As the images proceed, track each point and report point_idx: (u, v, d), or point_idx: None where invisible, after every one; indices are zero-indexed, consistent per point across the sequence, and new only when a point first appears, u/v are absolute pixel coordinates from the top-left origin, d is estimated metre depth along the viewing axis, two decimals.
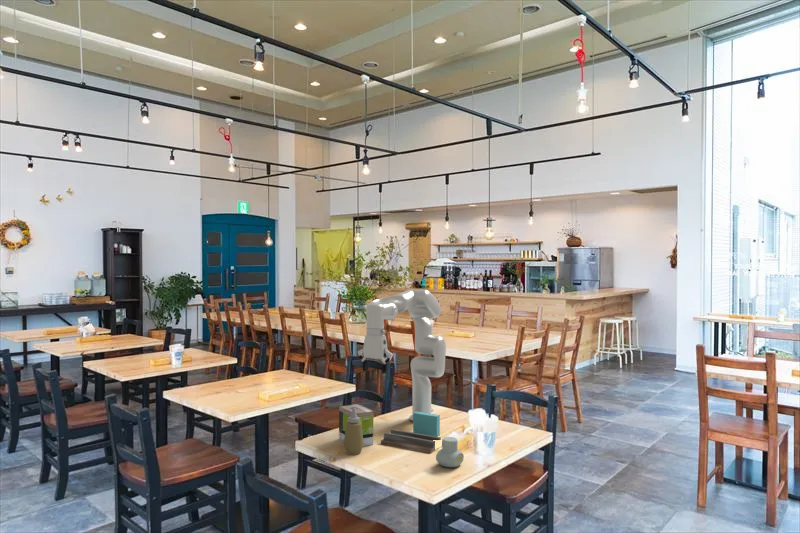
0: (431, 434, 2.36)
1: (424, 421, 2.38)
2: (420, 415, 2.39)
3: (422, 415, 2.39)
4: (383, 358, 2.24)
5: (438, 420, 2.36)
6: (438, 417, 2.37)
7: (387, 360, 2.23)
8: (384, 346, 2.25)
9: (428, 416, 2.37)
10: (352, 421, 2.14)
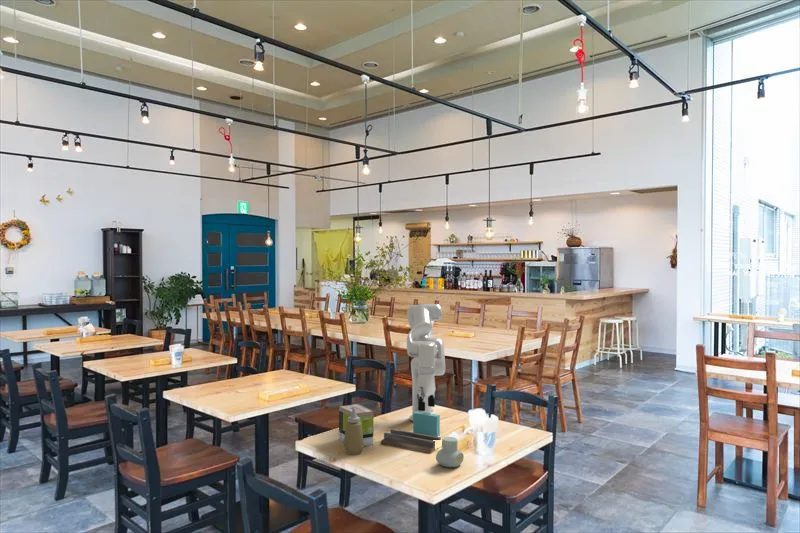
0: (431, 434, 2.36)
1: (424, 421, 2.38)
2: (420, 415, 2.39)
3: (422, 415, 2.39)
4: None
5: (438, 420, 2.36)
6: (438, 417, 2.37)
7: (434, 393, 2.44)
8: None
9: (428, 416, 2.37)
10: (352, 421, 2.14)
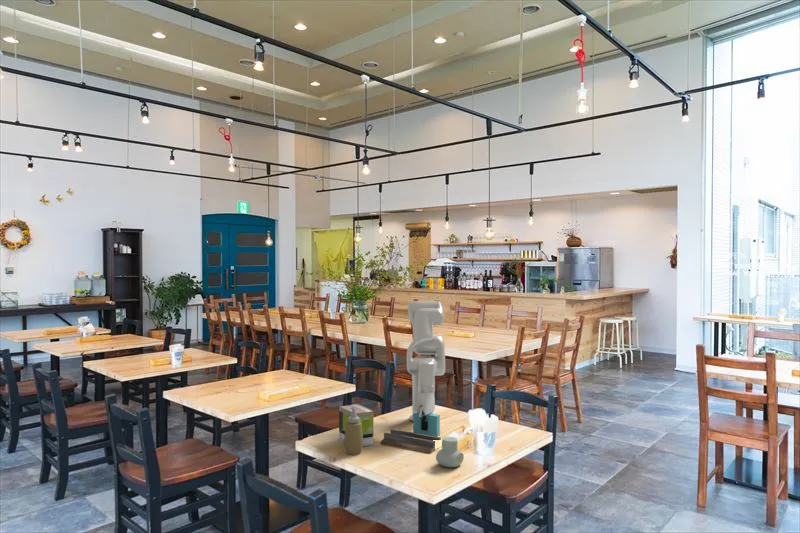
0: (431, 434, 2.36)
1: None
2: None
3: None
4: (431, 413, 2.41)
5: (438, 420, 2.36)
6: (438, 417, 2.37)
7: None
8: None
9: (428, 416, 2.37)
10: (352, 421, 2.14)
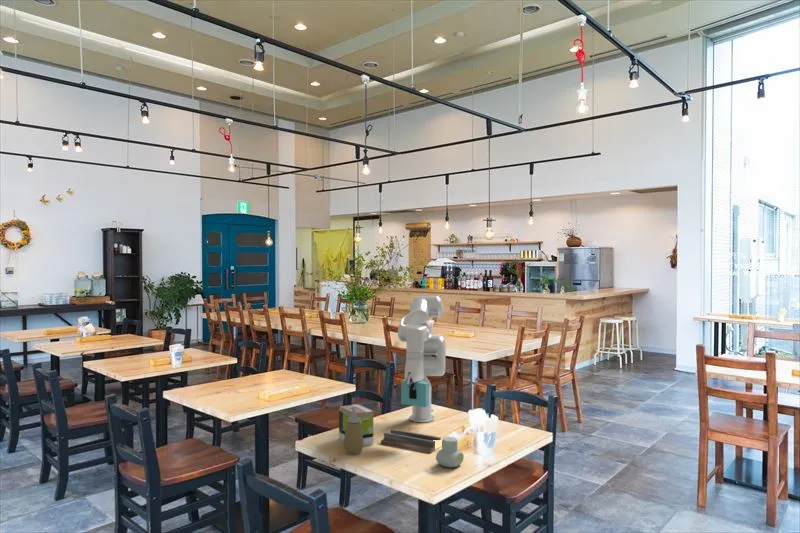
0: (420, 402, 2.26)
1: None
2: None
3: None
4: None
5: (427, 388, 2.26)
6: (427, 385, 2.27)
7: None
8: None
9: (417, 384, 2.27)
10: (352, 421, 2.14)
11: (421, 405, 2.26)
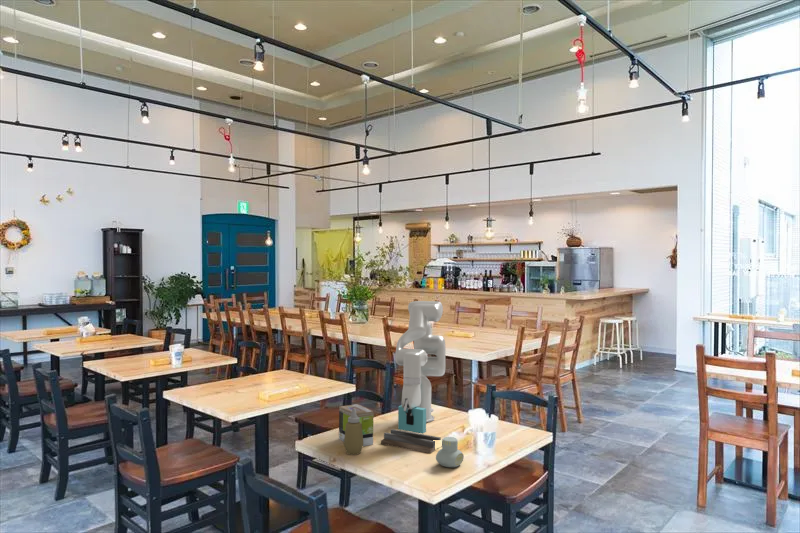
0: (417, 428, 2.24)
1: None
2: None
3: None
4: None
5: (424, 414, 2.24)
6: (425, 411, 2.25)
7: None
8: None
9: (414, 409, 2.25)
10: (352, 421, 2.14)
11: (418, 431, 2.24)
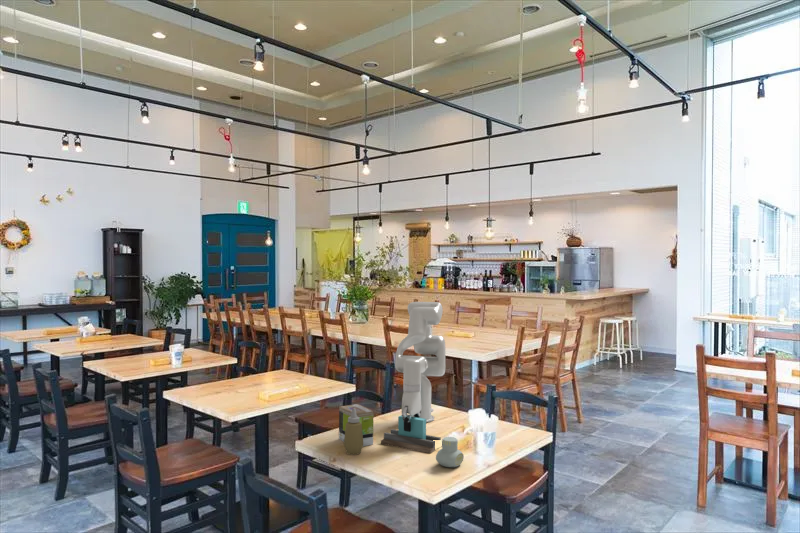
0: None
1: None
2: None
3: None
4: (418, 411, 2.31)
5: (424, 424, 2.24)
6: (424, 421, 2.25)
7: (420, 412, 2.32)
8: None
9: (414, 420, 2.25)
10: (352, 421, 2.14)
11: None
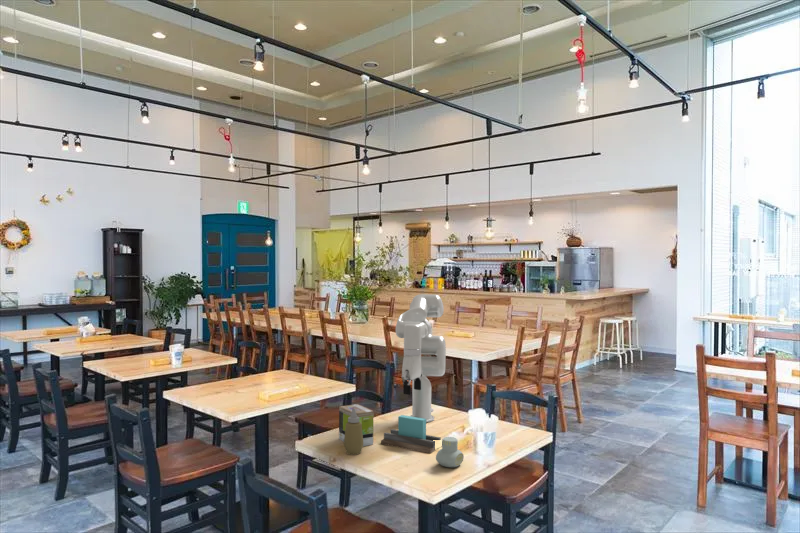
0: None
1: (409, 425, 2.26)
2: (405, 419, 2.27)
3: (407, 419, 2.26)
4: None
5: (424, 424, 2.24)
6: (424, 421, 2.25)
7: (421, 376, 2.34)
8: None
9: (414, 420, 2.25)
10: (352, 421, 2.14)
11: None
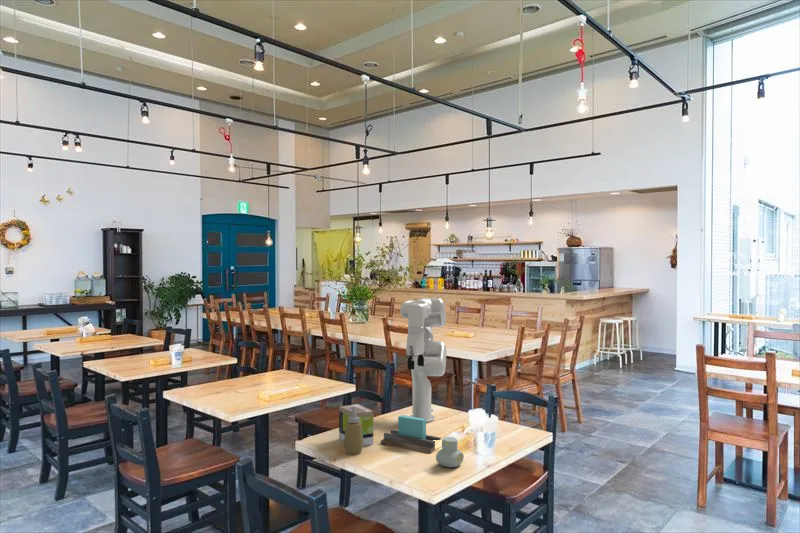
0: None
1: (409, 425, 2.26)
2: (405, 419, 2.27)
3: (407, 419, 2.26)
4: (422, 352, 2.47)
5: (424, 424, 2.24)
6: (424, 421, 2.25)
7: (424, 353, 2.49)
8: None
9: (414, 420, 2.25)
10: (352, 421, 2.14)
11: None
